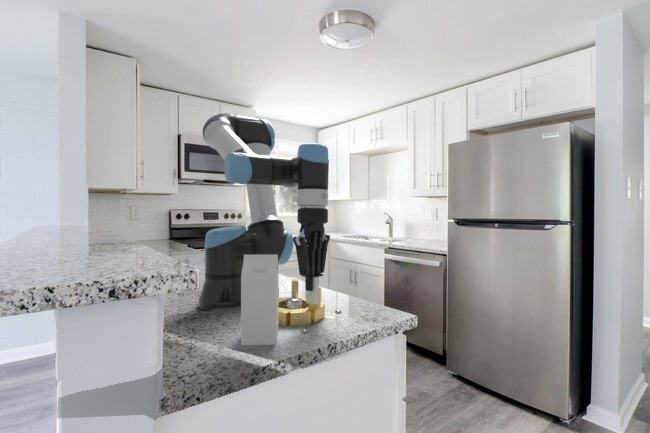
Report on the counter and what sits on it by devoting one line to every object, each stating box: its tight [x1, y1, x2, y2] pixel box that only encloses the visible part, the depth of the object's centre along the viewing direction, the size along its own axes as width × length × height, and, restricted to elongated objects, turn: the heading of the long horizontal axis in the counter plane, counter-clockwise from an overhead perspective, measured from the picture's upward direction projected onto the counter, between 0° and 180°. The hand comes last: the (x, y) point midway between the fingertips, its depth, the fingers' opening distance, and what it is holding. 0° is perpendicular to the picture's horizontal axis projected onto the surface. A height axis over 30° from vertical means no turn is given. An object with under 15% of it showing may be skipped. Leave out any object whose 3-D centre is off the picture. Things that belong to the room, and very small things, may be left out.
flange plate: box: [286, 296, 342, 334], centre depth 88 cm, size 20×20×6 cm
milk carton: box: [240, 255, 280, 346], centre depth 72 cm, size 7×7×19 cm
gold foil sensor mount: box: [278, 278, 326, 327], centre depth 88 cm, size 15×15×8 cm
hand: (311, 303), depth 84 cm, fingers closed
